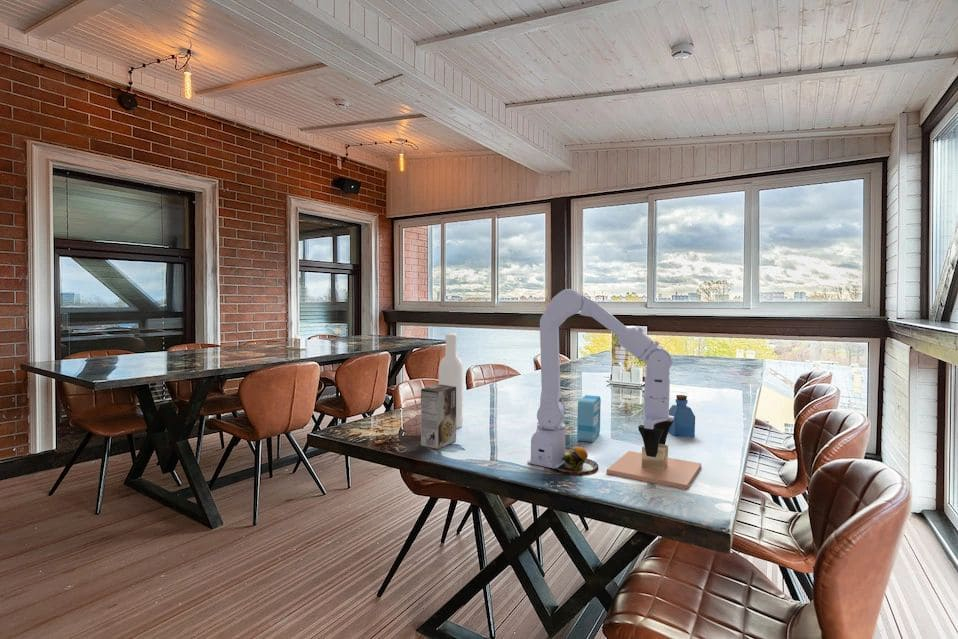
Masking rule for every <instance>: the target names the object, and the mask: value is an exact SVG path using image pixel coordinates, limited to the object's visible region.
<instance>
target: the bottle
mask: <svg viewBox="0 0 958 639" xmlns="http://www.w3.org/2000/svg"><path fill="white" fill-rule="evenodd" d="M457 336H458V334H457V333H446V334H445V339H444V340H445V356H443V357H442V358H441V359H440V360H439V365H438V385H448V386H454V387H456V430H457V429H460V428H462V427H463V422H464V417H463V416H464V415H463V411H464V410H463V409H464V408H463V407H464V404H463V402H464V401H463V400H464V397H463V396H464V393H463V392H464V365H463V362H462V359H461V358H460V357H459V356H458V355H457V354H458V353H457V351H458V350H457V349H458V337H457Z"/></svg>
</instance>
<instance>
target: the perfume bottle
mask: <svg viewBox="0 0 958 639" xmlns="http://www.w3.org/2000/svg"><path fill="white" fill-rule="evenodd" d="M675 396H676V399H675V403H676V404H672V405H671V407H669V415H670V416H674V420H673V423H672V425H671V427H670V429H669V432H668V434H670V435H671V436H673V437H679V438H683V437H684V438H686V437H687V438H688V437H689V438H692V437H693V438H695V437H696V434H695V433H696V431H695V430H696V429H695V428H696V416H695V413H694V412H693V410H692V408H691V407H690V406H688V405H687V404H688V402H689V401H688V395H685V394H676V395H675Z"/></svg>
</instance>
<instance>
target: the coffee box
mask: <svg viewBox="0 0 958 639" xmlns="http://www.w3.org/2000/svg"><path fill="white" fill-rule="evenodd" d="M420 395H421V396H420V410H421V411H420V422H421V423H420V446H422V447H428V448H432V449H437V450H440V449H441V448H444V447H445V446H448V445H450V444H453V443H454V442H457V429H456V387H454V386H448V385H439V384H436V385H432V386H427V387H424V388H420Z"/></svg>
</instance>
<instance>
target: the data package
mask: <svg viewBox="0 0 958 639" xmlns="http://www.w3.org/2000/svg"><path fill="white" fill-rule="evenodd" d="M576 422H577V425H576V426H577V428H576V430H577V431H576V433H577V434H576V439H577V441H579V442H584V443H587V442H588V443H594V442H595V440H596V439H597V438H598V437H599V436H600V433H601V396H599V395H591V394H590V395H587V394H585V395H584V396H583V397H582V398H580V399H579V400H578V403H577V420H576Z"/></svg>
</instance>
